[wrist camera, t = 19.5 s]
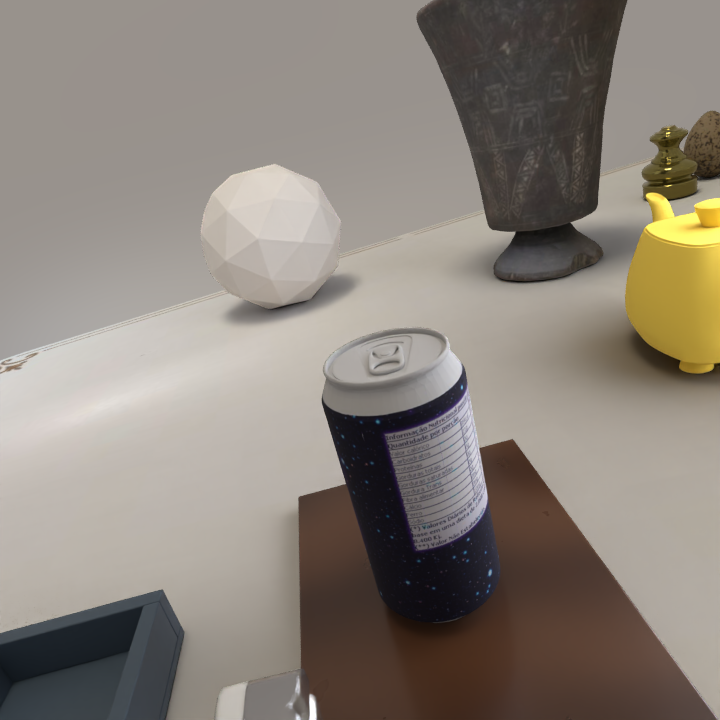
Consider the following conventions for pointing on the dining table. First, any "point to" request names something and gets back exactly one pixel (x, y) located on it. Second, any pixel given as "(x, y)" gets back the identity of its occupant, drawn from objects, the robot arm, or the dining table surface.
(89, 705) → the divided tray
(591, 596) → the walnut board
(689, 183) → the gold tiered tapered piece
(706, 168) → the decorative egg
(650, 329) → the teapot
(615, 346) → the dining table surface
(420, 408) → the beverage can
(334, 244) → the ball
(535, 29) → the vase
